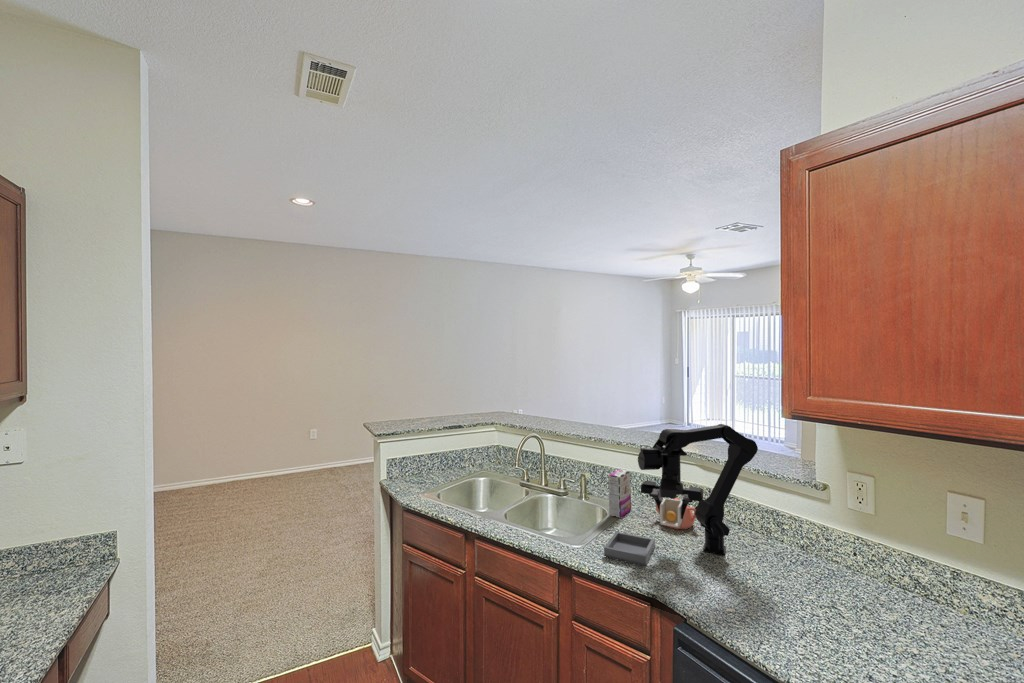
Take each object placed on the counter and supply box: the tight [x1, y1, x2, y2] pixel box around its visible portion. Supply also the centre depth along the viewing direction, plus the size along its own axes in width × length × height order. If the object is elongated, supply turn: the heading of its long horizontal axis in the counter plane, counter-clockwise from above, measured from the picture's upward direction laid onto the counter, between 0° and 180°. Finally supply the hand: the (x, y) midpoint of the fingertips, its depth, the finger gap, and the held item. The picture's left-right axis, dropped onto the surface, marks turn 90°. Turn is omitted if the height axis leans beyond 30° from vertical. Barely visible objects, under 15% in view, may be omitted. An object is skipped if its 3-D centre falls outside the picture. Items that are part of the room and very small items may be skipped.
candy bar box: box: [608, 468, 632, 519], centre depth 179 cm, size 11×5×16 cm, turn 143°
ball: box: [666, 511, 676, 522], centre depth 143 cm, size 3×3×3 cm
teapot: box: [654, 497, 696, 530], centre depth 168 cm, size 12×18×10 cm
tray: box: [603, 531, 656, 567], centre depth 144 cm, size 14×13×3 cm
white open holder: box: [659, 497, 683, 528], centre depth 144 cm, size 8×6×6 cm
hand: (671, 516), depth 144 cm, fingers closed on white open holder, 6 cm apart
